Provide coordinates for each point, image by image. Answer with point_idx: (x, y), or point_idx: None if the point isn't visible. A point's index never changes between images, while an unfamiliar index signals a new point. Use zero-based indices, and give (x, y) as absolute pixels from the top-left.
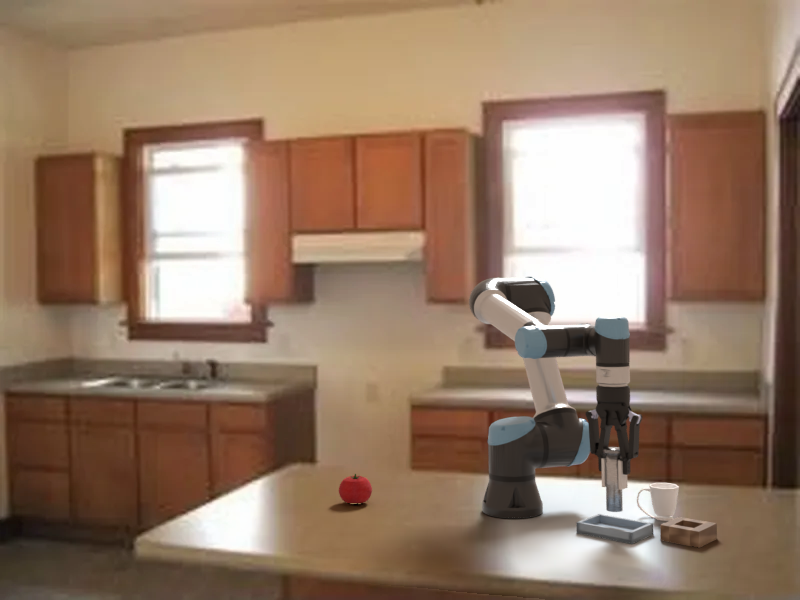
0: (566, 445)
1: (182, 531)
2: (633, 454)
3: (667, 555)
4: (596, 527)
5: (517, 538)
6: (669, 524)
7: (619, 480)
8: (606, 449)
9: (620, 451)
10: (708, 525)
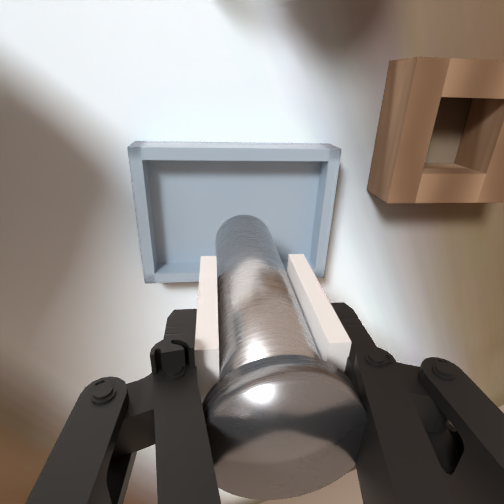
0: None
1: None
2: (449, 433)
3: (413, 285)
4: None
5: (77, 380)
6: (411, 181)
7: None
8: (254, 488)
9: (357, 456)
10: None
